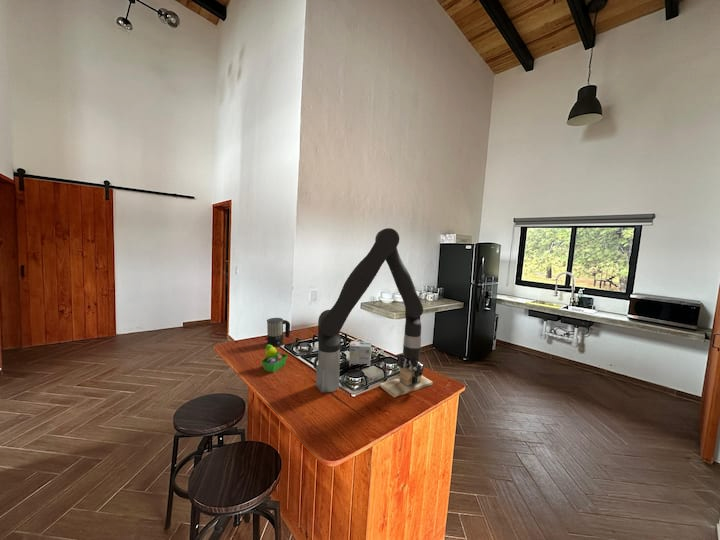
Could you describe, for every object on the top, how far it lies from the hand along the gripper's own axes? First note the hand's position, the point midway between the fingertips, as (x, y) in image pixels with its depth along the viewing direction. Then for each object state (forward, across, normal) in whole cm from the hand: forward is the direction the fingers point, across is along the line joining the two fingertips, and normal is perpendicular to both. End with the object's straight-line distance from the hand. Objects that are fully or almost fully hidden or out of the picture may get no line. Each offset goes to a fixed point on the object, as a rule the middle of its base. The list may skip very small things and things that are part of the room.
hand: (410, 380), depth 128 cm
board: (+2, 0, -2) cm, 2 cm away
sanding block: (0, 0, 0) cm, 0 cm away
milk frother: (+2, -77, -40) cm, 87 cm away
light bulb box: (+2, -28, -9) cm, 30 cm away
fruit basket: (+2, -44, -49) cm, 65 cm away
